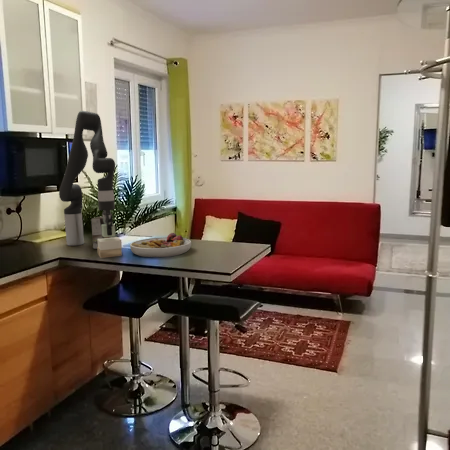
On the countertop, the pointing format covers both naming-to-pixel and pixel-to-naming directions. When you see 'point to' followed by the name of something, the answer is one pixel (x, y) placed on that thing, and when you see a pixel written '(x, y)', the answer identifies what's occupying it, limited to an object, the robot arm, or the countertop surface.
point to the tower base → (109, 252)
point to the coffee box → (97, 230)
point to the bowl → (161, 246)
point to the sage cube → (104, 230)
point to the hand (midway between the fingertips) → (108, 234)
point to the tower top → (109, 243)
